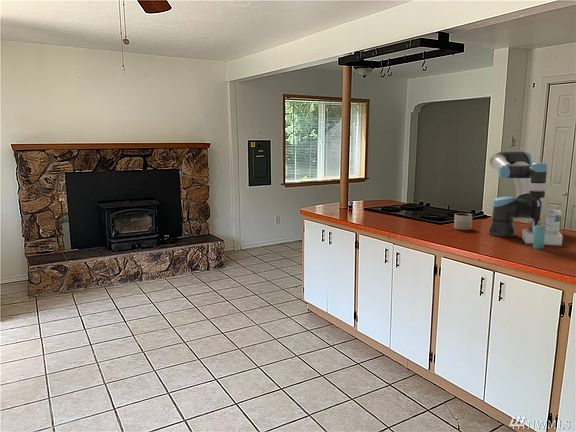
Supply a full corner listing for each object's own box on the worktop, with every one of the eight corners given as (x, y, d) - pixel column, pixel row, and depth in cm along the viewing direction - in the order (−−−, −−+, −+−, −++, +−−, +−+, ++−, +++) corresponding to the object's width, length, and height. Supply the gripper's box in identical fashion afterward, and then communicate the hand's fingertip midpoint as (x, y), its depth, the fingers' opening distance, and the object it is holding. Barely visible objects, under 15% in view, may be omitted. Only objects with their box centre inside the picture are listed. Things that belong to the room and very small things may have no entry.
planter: (467, 226, 291) (467, 212, 289) (474, 230, 280) (475, 215, 279) (451, 227, 291) (452, 213, 289) (458, 230, 280) (458, 216, 278)
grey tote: (525, 243, 243) (526, 233, 242) (522, 238, 256) (522, 228, 255) (561, 245, 237) (562, 235, 236) (556, 240, 250) (557, 230, 249)
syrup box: (552, 234, 265) (555, 210, 262) (544, 232, 270) (546, 209, 268) (560, 233, 266) (562, 210, 264) (552, 231, 272) (554, 208, 269)
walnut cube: (529, 231, 245) (530, 223, 244) (528, 230, 250) (529, 221, 249) (539, 232, 243) (540, 223, 243) (538, 230, 248) (538, 222, 247)
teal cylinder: (533, 248, 233) (535, 226, 230) (532, 246, 237) (533, 225, 235) (544, 249, 231) (546, 227, 229) (542, 247, 235) (544, 225, 233)
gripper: (548, 192, 233) (544, 234, 237) (541, 188, 250) (538, 228, 254) (532, 192, 236) (529, 233, 240) (527, 188, 252) (524, 227, 256)
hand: (534, 230), depth 247 cm, fingers closed on walnut cube, 5 cm apart
